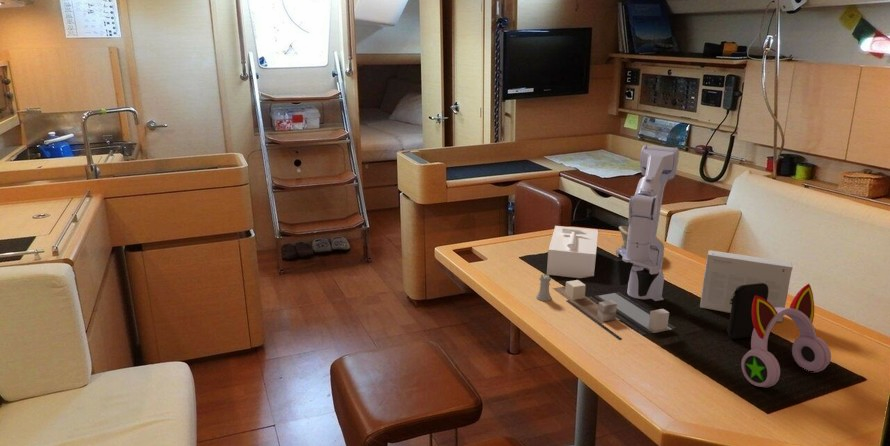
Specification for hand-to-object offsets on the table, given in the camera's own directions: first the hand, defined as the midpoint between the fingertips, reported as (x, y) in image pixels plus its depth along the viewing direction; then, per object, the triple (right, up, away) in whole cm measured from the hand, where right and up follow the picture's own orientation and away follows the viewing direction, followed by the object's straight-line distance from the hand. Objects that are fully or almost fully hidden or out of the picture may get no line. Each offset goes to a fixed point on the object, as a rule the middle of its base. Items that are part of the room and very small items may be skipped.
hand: (632, 289), depth 166 cm
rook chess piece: (-21, -5, +14) cm, 26 cm away
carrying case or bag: (+27, -12, -4) cm, 29 cm away
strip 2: (+2, -8, +7) cm, 10 cm away
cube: (-12, -3, +15) cm, 20 cm away
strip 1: (-10, -6, +11) cm, 16 cm away
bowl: (+17, +6, +52) cm, 55 cm away
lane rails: (-3, -8, +5) cm, 10 cm away
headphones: (+28, -18, -21) cm, 39 cm away
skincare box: (+33, -7, +11) cm, 36 cm away
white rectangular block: (-7, +4, +44) cm, 44 cm away
